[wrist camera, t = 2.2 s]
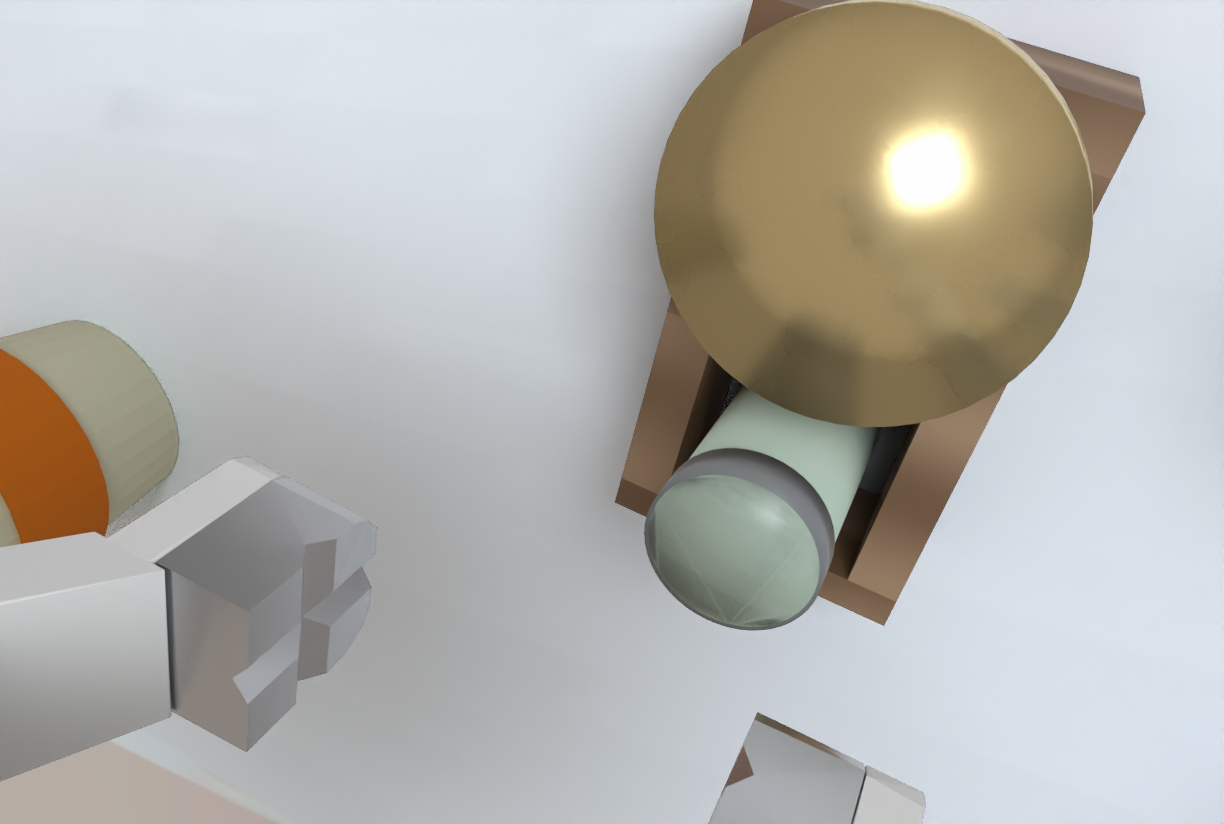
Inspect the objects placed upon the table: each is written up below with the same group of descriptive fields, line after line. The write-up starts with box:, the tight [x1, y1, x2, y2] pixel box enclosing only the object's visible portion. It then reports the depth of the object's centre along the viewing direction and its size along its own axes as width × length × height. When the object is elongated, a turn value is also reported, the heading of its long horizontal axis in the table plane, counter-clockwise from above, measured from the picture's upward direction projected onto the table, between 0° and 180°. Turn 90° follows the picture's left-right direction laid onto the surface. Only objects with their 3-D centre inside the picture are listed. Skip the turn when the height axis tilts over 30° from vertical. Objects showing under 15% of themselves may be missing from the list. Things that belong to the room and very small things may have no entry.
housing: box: [615, 0, 1145, 626], centre depth 28 cm, size 16×9×5 cm, turn 166°
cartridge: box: [644, 385, 883, 630], centre depth 28 cm, size 5×5×10 cm
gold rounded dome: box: [654, 0, 1093, 427], centre depth 23 cm, size 9×9×6 cm
